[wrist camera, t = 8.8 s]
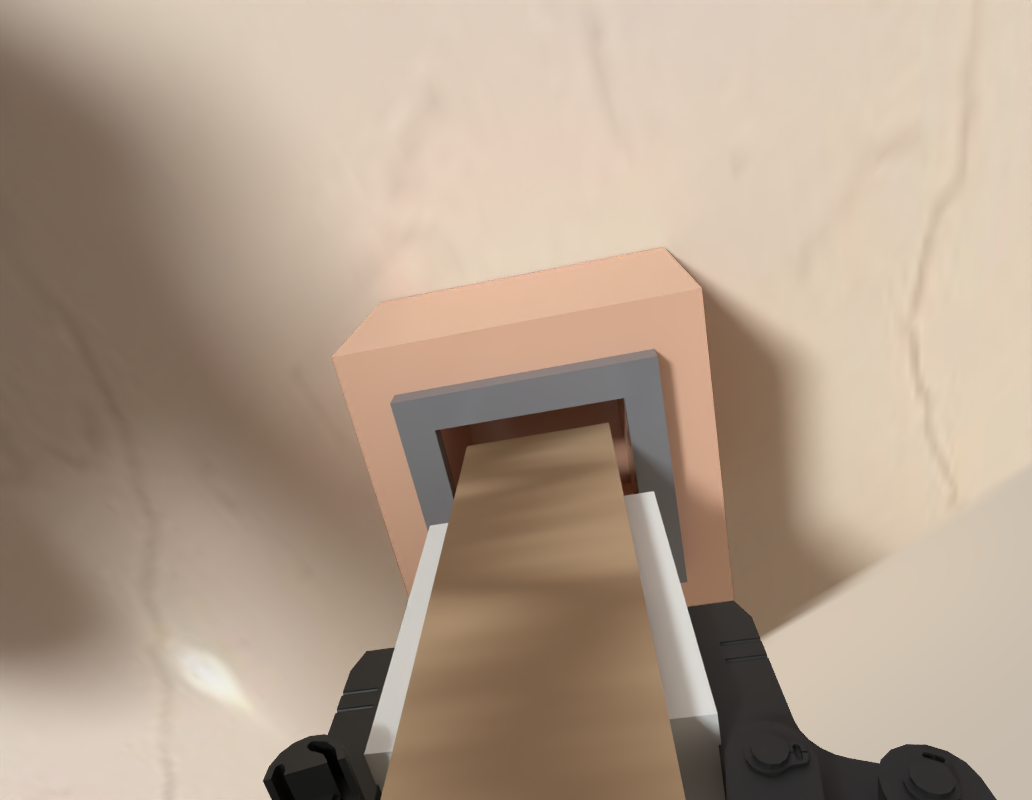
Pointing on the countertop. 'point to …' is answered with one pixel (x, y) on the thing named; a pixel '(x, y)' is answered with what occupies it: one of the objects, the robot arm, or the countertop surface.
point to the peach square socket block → (545, 395)
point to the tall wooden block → (536, 639)
